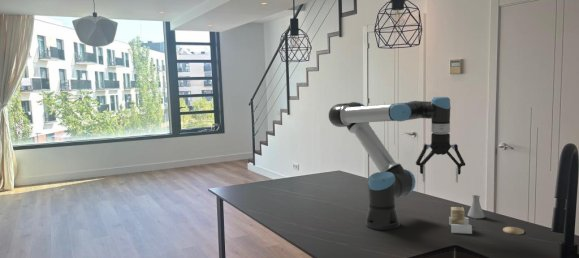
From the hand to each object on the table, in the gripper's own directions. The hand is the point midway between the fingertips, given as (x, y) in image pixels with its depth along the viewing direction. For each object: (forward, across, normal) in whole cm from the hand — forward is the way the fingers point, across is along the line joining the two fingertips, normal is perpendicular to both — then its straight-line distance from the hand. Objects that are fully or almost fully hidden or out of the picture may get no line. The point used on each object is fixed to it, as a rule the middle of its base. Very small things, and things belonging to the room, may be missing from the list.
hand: (439, 181), depth 190 cm
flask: (+21, +19, +16) cm, 32 cm away
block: (+20, +7, -2) cm, 22 cm away
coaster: (+20, +29, -3) cm, 36 cm away
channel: (+20, +8, -2) cm, 22 cm away
